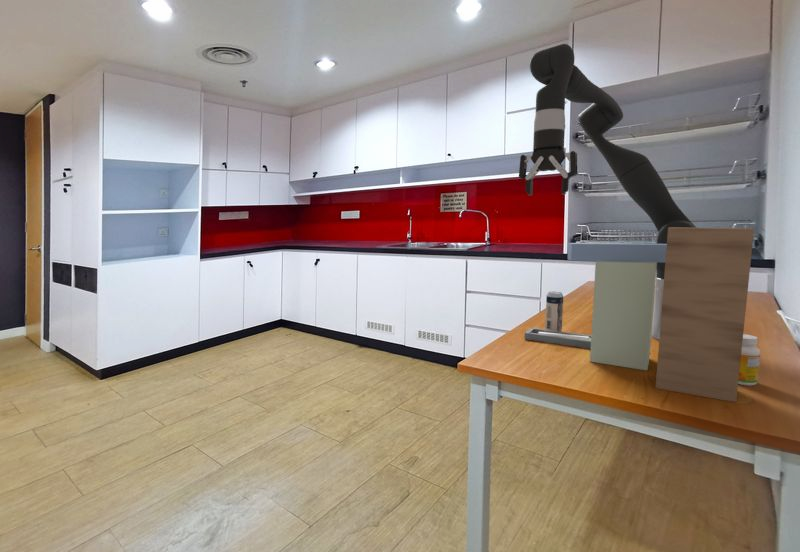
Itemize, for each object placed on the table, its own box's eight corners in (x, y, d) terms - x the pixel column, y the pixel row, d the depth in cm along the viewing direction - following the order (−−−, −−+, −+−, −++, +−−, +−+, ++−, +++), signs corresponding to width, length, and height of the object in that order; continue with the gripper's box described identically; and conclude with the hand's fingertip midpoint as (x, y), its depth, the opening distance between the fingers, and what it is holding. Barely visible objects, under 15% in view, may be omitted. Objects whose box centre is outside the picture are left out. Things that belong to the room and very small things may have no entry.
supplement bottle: (718, 377, 95) (722, 333, 94) (741, 376, 96) (746, 332, 94) (739, 386, 90) (744, 339, 89) (763, 385, 90) (769, 339, 89)
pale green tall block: (596, 350, 114) (601, 258, 111) (649, 358, 108) (657, 260, 104) (589, 361, 105) (595, 261, 102) (647, 370, 99) (655, 264, 96)
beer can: (562, 334, 130) (564, 294, 129) (545, 333, 131) (547, 293, 130) (560, 330, 135) (562, 291, 133) (543, 329, 136) (545, 291, 134)
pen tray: (531, 333, 131) (531, 327, 131) (613, 344, 119) (613, 338, 119) (524, 339, 125) (524, 332, 125) (609, 351, 114) (610, 344, 113)
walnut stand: (657, 376, 96) (668, 227, 91) (731, 388, 89) (748, 228, 85) (655, 388, 89) (668, 228, 85) (736, 402, 82) (754, 228, 78)
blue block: (567, 259, 107) (568, 242, 106) (675, 261, 103) (676, 243, 102) (570, 260, 103) (571, 243, 103) (683, 262, 99) (684, 244, 99)
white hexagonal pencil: (599, 348, 120) (537, 341, 126) (599, 343, 121) (538, 336, 127) (600, 341, 118) (537, 334, 124) (600, 336, 120) (538, 329, 126)
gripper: (517, 130, 114) (515, 194, 116) (575, 124, 106) (572, 192, 108) (525, 135, 120) (523, 196, 122) (581, 129, 113) (578, 194, 115)
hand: (546, 194), depth 115 cm, fingers open, 8 cm apart
